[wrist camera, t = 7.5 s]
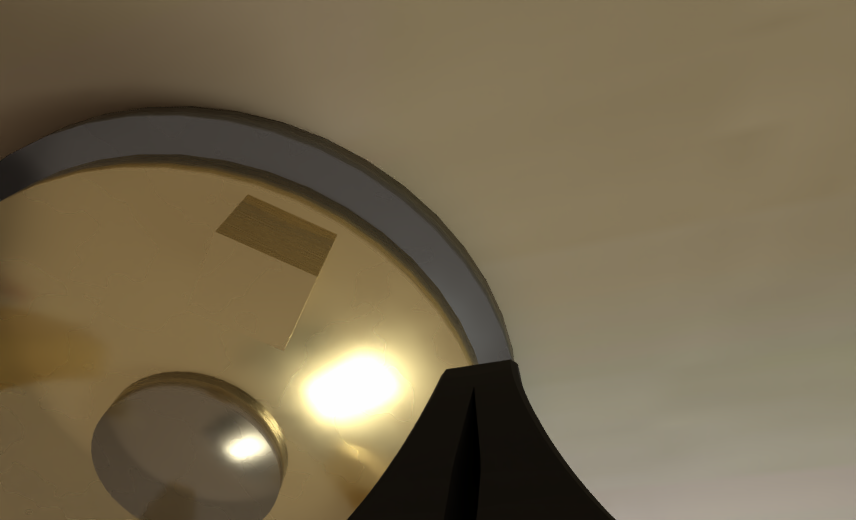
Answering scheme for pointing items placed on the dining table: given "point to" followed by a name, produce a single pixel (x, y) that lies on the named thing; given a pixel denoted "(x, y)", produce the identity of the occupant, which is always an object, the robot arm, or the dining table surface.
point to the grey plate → (292, 160)
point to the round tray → (205, 345)
